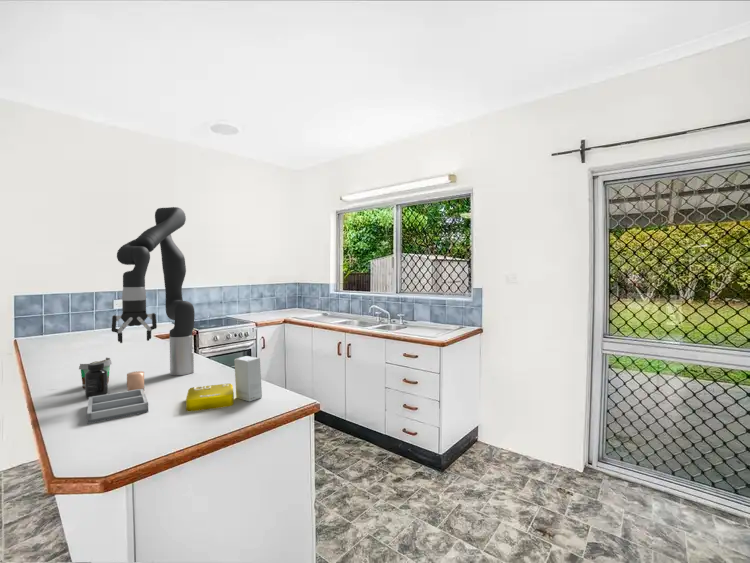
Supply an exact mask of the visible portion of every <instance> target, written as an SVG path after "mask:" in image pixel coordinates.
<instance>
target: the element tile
mask: <svg viewBox="0 0 750 563" xmlns="http://www.w3.org/2000/svg"><path fill="white" fill-rule="evenodd" d="M233 386H234V385H233V384H232V383H221V384H214V385H213V384H212V385H201V386H200V385H199V386H195V387H190V388H189V389H188V390H187V394H186V397H185V411H187V412H197V411H198V412H199V411H205V410H212V409H213V410H214V409H219V408H221V409H222V408H226V407H227V408H228V407H233V405H234V403H235V402H234V401H235V400H234V399H235V398H234V397H235V394H234V387H233Z"/></svg>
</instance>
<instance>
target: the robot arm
mask: <svg viewBox="0 0 750 563" xmlns="http://www.w3.org/2000/svg"><path fill="white" fill-rule="evenodd" d="M154 220H155V225H153V226H151V227H149V228H147V229H145V230H144V231H143V232H142V233H140V234H139V235H138V236H137V238H135V239H133V240H130V241H128V242H127V243H124V244H123V245H122V246H120V248H119V249H118V250H117V253H116V259H117V261H118V262H119V263H121V265H126V266H127V265H128V266H131V265H133V269H131V270H127V271H125V272H124V273H123V274H122V292H121V293H122V294H121V297H122V298H121V302H122V303H121V304H122V306H121V307H122V308H121V309H122V310H121V312H122V313H121V315H116V314H113V315H112V317H111V332H112V333H116V334H117V341H118V342H117V343H119V344H123V331H124V329H126V327H134V326H137V327H138V326H143V327H144V328H145V329H146V341H147V342H148V341H150V340H151V339H152V331H153V330H156V329H157V327H158V326H157V315H156V313H155V312H152V313H147V291H146V273H147V270H148V267H149V263H150V261H151V253H152V252H153V251H154V250H155V249H156V248H157V247H158V245H159V246H160V247H159V248H160V255H161V264H162V273H163V280H164V282H163V283H164V289H165V292H164V293H165V314H166V316H167V317H168V319H170V320H172V321H174V326H173V328H172V329H170V330H169V375H170V376H185V375H189V374H193V373H195V369H194V368H195V366H194V365H195V363H194V361H195V360H194V358H195V357H194V355H195V354H194V352H193V331H194V328H195V307H194V305H193V303H191V301H187V300H184V299H183V293H182V289H183V288H182V287H183V285H184V282H185V277H186V274H187V268H186V267H187V266H186V259H185V258H186V257H185V255H184V253H183V252H182V251H181V250H180V248H179V247H178V245H176V243H175V242H174V240H173V238H172V234H173V233H174V232H176V231H177V230H179V229H181V228H182V227H183V226H184V225H185V223H186V222H187V218H186V213H185V211H184V210H183V209H182V208H180V207H178V206H177V207H176V206H175V207H174V206H172V207H159V208H157V209H156V210H155V212H154ZM148 318H149V319H150V320H151V326H149V325H148V324H147V322H146V320H147V319H148ZM120 319H121V320H122V321H123V323H122V324H121V326H120V327H119V328H117V322H119V321H120Z"/></svg>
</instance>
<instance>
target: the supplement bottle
mask: <svg viewBox="0 0 750 563" xmlns="http://www.w3.org/2000/svg"><path fill="white" fill-rule="evenodd" d="M91 363H92V362H91ZM88 364H89V365H88V370H89V371H88V372H87V373H86V374H85V388H84V391H85V392H84V394H85V397H86V398H87V399H89V397H93V396H99V395H106V394H109V393H108V392H109V391H108V390H109V385H108V384H109V382H108V378H107V371H106V370H105V369H103V368H104V363H102V362H99V363H92V364H90V363H88Z"/></svg>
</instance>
